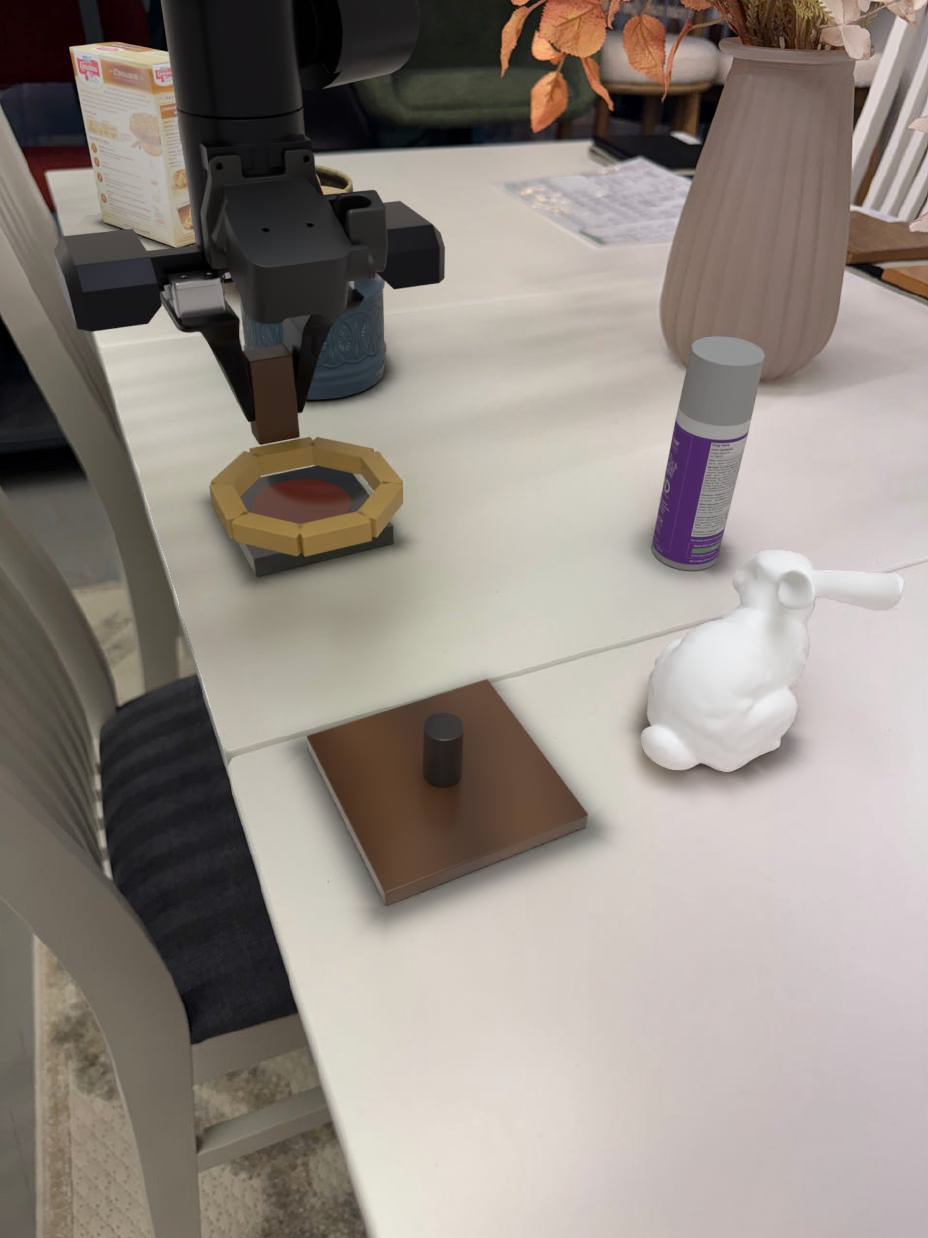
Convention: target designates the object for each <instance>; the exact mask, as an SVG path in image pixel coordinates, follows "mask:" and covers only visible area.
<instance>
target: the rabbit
mask: <svg viewBox="0 0 928 1238" xmlns="http://www.w3.org/2000/svg"><path fill="white" fill-rule="evenodd" d="M731 583H732V587H733V588H734V590H735V591H736V593H737V594H738V597H739V601H740V604H739V605H738V606H737V607H734V608H732V610H731V611H729V612H727V613H726V614H724V615H723V616H721V618H720V619H716V620H709V621H706V622H704V623H701V624H699V625H698V626H696V627H694V628H692V629H690V630H689V631H688V632H686V634H685V635H683V636H680V637H677V638H674V639H673V640H671V641H669V643H668V644H666V645H665V647H664V648H663V649H662V650H661V651H660V653H658V655H657V656H656V658H655V661H654V667H653V668H652V670H650V672H649V676H648V683H647V684H648V699H647V709H646V716H647V720H648V722H649V725H650V726H647V727H646V728H644V729H643V731H642V732H641V735H640V743H641V747H642V749H643V751H644V754H645V755H646V757H648V758H649V759H650V760H651V761H652V762H654V763H656V764H657V765H659V766H661V767H663V768H666V769H668V770H670V771H671V770H673V771H686V770H689V769H691V768H693V767H696V766H697V765H699V764H702V765H706V766H707V767H709V768H711V769H713V770H715V771H719V772H723V773H731V772H734V771H736V770H738V769H740V768H742V767H744V766H745V765H746V764H748V763H749V762H751V761H752V760H754V759H756V758H758V757H760V756H763V755H765V754H767V753H770V752H773V751H776V749H778V748H780V746H781V742H782V740H781V739H782V737H783V736H784V735H785V734H786V733H787V731H788V730H789V729H790V727H792V724H793V723H794V720H795V718H796V715H797V712H798V706H799V705H798V701H797V698H796V696H795V694H793V692H792V691H791V689H790V688H791V686H792V685H794V684H796V682H799V680H800V679H801V677H802V676H803V672H804V670H805V668H806V665H807V661H808V658H809V653H810V647H811V644H810V634H809V627H808V622H809V620H810V619H811V616H812V615H813V612H814V610H815V608H816V604H817V598H820V599H825V600H829V601H833V602H837V603H841V604H846V605H850V606H854V607H858V608H861V609H865V610H870V611H875V612H880V611H881V612H884V611H886V612H887V611H889V610H892V609H894V608H895V607H896V606H897V605H898V604H899V602H900V601H901V599H902V597H903V593H904V589H905V580H904V578H903V577H902V576H901V575H900V574H898V573H894V572H878V573H877V572H867V571H860V570H845V569H842V570H841V569H822V570H821V569H815V567H814V565H813V564H812V562H811V561H810V560H809V558H808V557H806V556H805V555H803V554H802V553H799V552H796V551H792V550H784V549H765V550H761V551H757V552H755V553H753V554H751V555H749V556H748V557H746V558H745V559H744V560H743V561H742V563H740V566H739V568H738V569H737V570H736V572H735V573H734V574H733V577H732V581H731Z"/></svg>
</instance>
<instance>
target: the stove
mask: <svg viewBox="0 0 928 1238" xmlns="http://www.w3.org/2000/svg"><path fill="white" fill-rule="evenodd" d="M370 496H371V494H369V492H368V491H367V490H366V488H365V487H364V486H363V485H362V483H361V482H360V481H359V479H358V478H357V477H356V475H355V474H354V473H350V472H345V471H340V470H336V469H331V468H326V467H322V466H317V465H311V466H306V467H302V468H297V469H292V470H287V471H282V472H277V473H273V474H268V475H263V476H261V477H260V478H259V479H258V480H257V481H256V482H255V483H254V484H253V485H252V486H251V487H250V488H249V489H248V490H247V491H246V492H245V493H243V494H242V495H241V496H240V498H241V500H242V502H243V503H244V505H245V507H246V509H247V511H248V512H250V513H254V514H259V515H263V516H267V517H272V518H276V519H280V520H285V521H289V522H293V523H298V524H303V523H308V522H312V521H317V520H321V519H326V518H330V517H334V516H339V515H343V514H348V513H352V512H357V511H358V510H359V509H360V508H361V507H362V505H363V504H364V503H365V502H366V500H367V499H368V498H369V497H370ZM394 543H395V542H394V525H393V523H392V522H391V520H390V521H389V523H388V524H387V525H386V526H385V528H384V529H383V530H382V532H381V533H380V534H379V536H378V537H377V538H376V537H372V541H369V542H364V543H360V544H356V545H352V546H348V547H343V548H339V549H335V550H331V551H327V552H322V553H318V554H314V555H310V556H306V557H305V556H304V555H303V553H302V551H301V553H300V554H299V555H298V556H293V555H289V554H285V553H281V552H277V551H273V550H268V549H264V548H260V547H256V546H252V545H248V544H243V543H239V542H237V544H238V546H239V548H240V549H241V552H242V553H243V555H244V557H245V559H246V561H247V562H248V564H249V567H250V569H251V570H252V571H253V574H254V576H255V577H256V578H258V577H262V576H267V575H270V574H274V573H278V572H282V571H286V570H290V569H294V568H299V567H302V566H303V567H304V566H306V565H311V564H315V563H319V562H322V561H323V562H324V561H328V560H331V559H335V558H339V557H344V556H347V555H351V554H355V553H356V554H357V553H361V552H363V551H364V552H365V551H367V550H372V549H375V548H379V547H384V546H388V545H392V544H394Z"/></svg>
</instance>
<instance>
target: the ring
mask: <svg viewBox="0 0 928 1238" xmlns="http://www.w3.org/2000/svg"><path fill="white" fill-rule="evenodd" d="M242 351H243V350H242ZM243 355H244V359H245V363H246V368H247V372H248V376H249V380H250V385H251V389H252V393H253V398H254V411H255V421H253V422H250V429H251V434H252V435H253V437H254V439H255V440H256V442H257V443H258V445H259V446H254V447H249V448H248V449H249V451H246V450H243V451H242V452H241V453H240V454H239V455H238V456H237V457H236V458H234V459H233V460H232V461H231V462H230V463H229V464H228V465H227V466H226V467H225V468H223V469H222V470H221V471H220V472H219V473H218V474H217V475H216V476H214V478H212V479H211V481H210V485H208V488H209V494H210V498H211V499H210V500H211V505H212V506H213V509H214V511H215V513H216V515H217V517H218V518H219V520H220V523H221V524H222V527H223V529H224V531H225V533H226V534H227V537H228V538H229V539H233V540H234V542H236V543H238V542H239V543H243V544H248V545H252V546H256V547H260V548H264V549H268V550H273V551H277V552H281V553H285V554H289V555H293V556H298V555H299V554H300V553H301V551H302V553H303V555H304V556H305V557H306V556H310V555H314V554H318V553H322V552H327V551H331V550H335V549H339V548H343V547H348V546H352V545H356V544H360V543H364V542H369V541H372V537H376V538H377V537H378V536H379V534H380V533H381V532H382V530H383V529H384V528H385V526H386V525H387V524H388V523H389V521H390V522H391V520H392V518H393V517H394V516H395V515H396V513H397V512H398V511H399V510H400V508H401V507H402V505H403V504H404V486H403V485H404V482H403V480H402V478H401V477H400V476H399V475H398V473H397V472H396V471H395V470H394V468H393V467H392V466H391V465H390V463H389V462H388V461H387V460H386V458H385V457H384V456H383V455H382V453H381V452H380V451H378V450H377V451H375V449H374V448H372V447H368V446H363V445H359V444H354V443H348V442H344V441H339V440H335V439H329V438H324V437H320V436H316V437H315V438H314V439H313V438H312V437H311V436H307V437H306V436H305V437H301V435H300V423H299V421H300V420H299V413H298V410H297V399H296V388H295V376H294V365H293V356H292V354H291V353H290V352H289V350H288V349H287V348H286V347H285V345H277V346H271V347H264V348H258V349H251V350H245V351H243ZM300 437H301V438H300ZM312 466H322V467H326V468H331V469H336V470H340V471H345V472H350V473H353V474H354V475H355V474H356V475H359V476H362V478H363V479H364V480H365V481H366V483H367V484H368V486H369V487H370V488H371V490H372V491H373V492H372V493H371V494H370V497H369V498H368V499H367V500H366V502H365V503H364V504H363V505H362V507H361V508H360V509H359V510H358V511H357V512H352V513H348V514H343V515H339V516H334V517H330V518H326V519H321V520H317V521H312V522H308V523H303V524H298V523H293V522H289V521H285V520H280V519H276V518H272V517H267V516H263V515H259V514H254V513H250V512H248V511H247V509H246V507H245V505H244V503H243V502H242V500H241V498H240V496H241V495H242V494H243V493H245V492H246V491H247V490H248V489H249V488H250V487H251V486H252V485H253V484H254V483H255V482H256V481H257V480H258V479H259V478H260V477H263V476H268V475H273V474H278V473H283V472H288V471H292V470H297V469H302V468H307V467H312Z"/></svg>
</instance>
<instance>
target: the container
mask: <svg viewBox="0 0 928 1238" xmlns="http://www.w3.org/2000/svg"><path fill="white" fill-rule="evenodd" d="M765 357H766V353H765V352H764V350H763V349H762V348H761V347H760V346H758V345H757V344H755V343H753V342H750V341H748V340H745V339H741V338H738V337H734V336H733V337H732V336H723V335H722V336H721V335H714V336H705V337H700V338H698V339H696V340H695V341H694V342H693V343H692V344H691V348H690V351H689V356H688V360H687V366H686V369H685V375H684V379H683V384H682V388H681V393H680V397H679V402H678V406H677V411H676V416H675V419H674V425H673V430H672V435H671V441H670V447H669V452H668V458H667V463H666V468H665V472H664V473H665V474H664V478H663V483H662V489H661V495H660V499H659V506H658V510H657V516H656V521H655V526H654V532H653V536H652V542H651V543H652V544H651V551H652V553H653V556H654V557H655V558H656V559H657V560H658V561H660V562H661V563H663V564H664V565H666V566H668V567H671V568H673V569H677V570H681V571H702V570H705V569H708V568H710V567H712V566H713V565H715V564H716V563H717V560H718V557H719V554H720V550H721V546H722V542H723V537H724V534H725V530H726V525H727V521H728V517H729V513H730V509H731V506H732V501H733V497H734V493H735V488H736V484H737V481H738V477H739V472H740V469H741V464H742V460H743V457H744V452H745V449H746V445H747V440H748V436H749V432H750V427H751V422H752V418H753V413H754V408H755V404H756V399H757V394H758V390H759V386H760V381H761V377H762V376H761V375H762V371H763V367H764V362H765Z"/></svg>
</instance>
